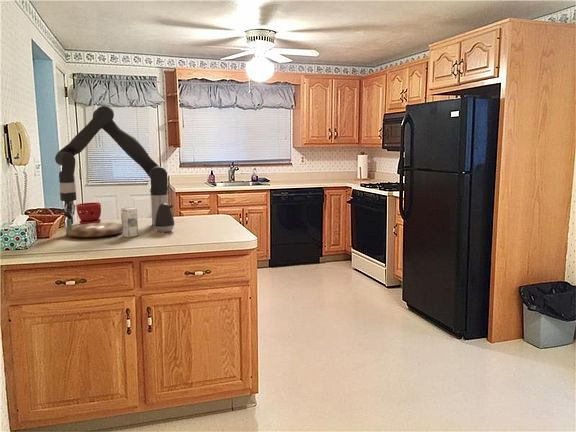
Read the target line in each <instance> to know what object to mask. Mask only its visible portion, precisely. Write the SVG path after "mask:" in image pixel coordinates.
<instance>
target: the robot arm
mask: <svg viewBox="0 0 576 432" xmlns="http://www.w3.org/2000/svg"><path fill="white" fill-rule="evenodd" d="M114 118H115V113H114V110H113V109H112V108H111V107H110V106H108V105H101V106H99V107H97V108H96V109H95V110H94V111H93V113H92V118H91V120H90V121H89V122H88V123H87V124H86V125H85V126H83V128H82V129H81V130H80V131H79V132H78V133H77V134H76V135H75V136H74V137H73V138H72V139H71V140H70V142H69V143H68V144H66V145H65V146H64V147H62V148H61V149H60V150H58V151H57V153H56V154H55V157H54V160H55V163H56V164H57V165H59V166H61V171H58V172H59V173H58V180H59V181H58V182H59V185H58V186H59V199H60V201H61V202H64V204H63V208H62V211H63V214H64V216H65V218H67V219H71V224H72V225H73V224H74V216H75V213H76V212H75V211H76V204H75V203H74V201H76V200H77V190H76V189H77V188H76V187H77V186H76V181H75V169H76V157H75V156H76V155H78V154H81V153H82V152H83V150H84V149H85V148H86V147H87V146H88V145H89V143H90V142H91V141H92V140H93V139H94V137H95V136H96V135H97V134H98V132H99V131H101V130H103V131H104V132H105V133H106V134H107V135H109V136H110V137H111V139H112V140H113V141H114V142H115V143H116V144H117V145H118V146H119V147H120V148H121V149H122V151H124V153H125V154H126V155H127V156H129V157H130V159H132V160H133V161H134V162H135V163H136V164H137V165H139V166H140V167H141V168H142V170H143V171H144V172H145V173H146V174H147V176H148V177H149V179H150V207H151V209H150V210H151V224H152V225H153V226H155V216H156V212H157V209H158V207H159V205H160V204H163V203H165V204H167V205H168V204H169V202H168V188H169V186H168V184H169V183H168V182H169V181H168V171H167V170H166V169H165V168H164V167H161V166H160V165H159V164H158V163H156V162H155V161H154V159H152V158H151V157H150V155H149V154H148V152H147V151H146V149H145V148H144V147H143V145H142V144H141V143H140V142H139V141H138V140H137V139H136V138H135V137H134V136H133V135H132V134H130V133H129V132H127V131H126V130H124V129H123V128H121V127H120V126H119V125H118V124H117V123H116V122H115V121H114ZM168 206H169V205H168Z"/></svg>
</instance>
